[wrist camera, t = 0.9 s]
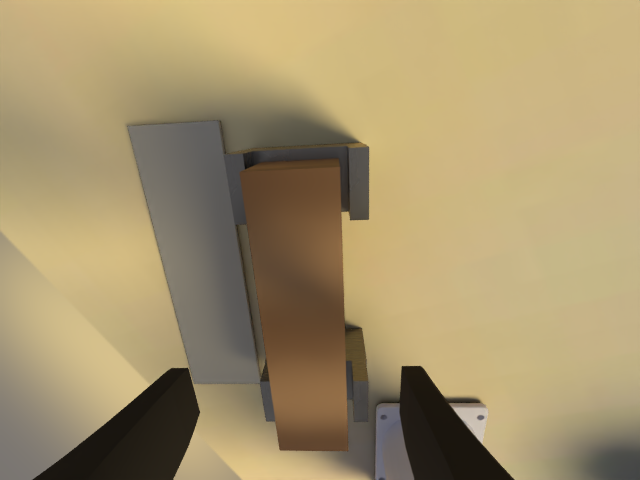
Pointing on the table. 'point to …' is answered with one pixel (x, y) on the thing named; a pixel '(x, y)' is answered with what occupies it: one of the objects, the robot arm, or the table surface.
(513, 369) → the table surface
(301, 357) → the rail
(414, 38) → the table surface
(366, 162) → the post
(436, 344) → the table surface
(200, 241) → the mat
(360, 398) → the post
